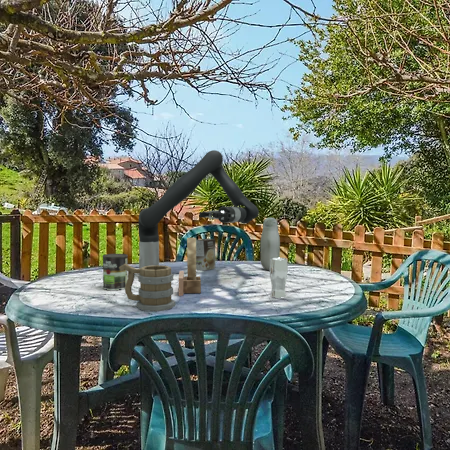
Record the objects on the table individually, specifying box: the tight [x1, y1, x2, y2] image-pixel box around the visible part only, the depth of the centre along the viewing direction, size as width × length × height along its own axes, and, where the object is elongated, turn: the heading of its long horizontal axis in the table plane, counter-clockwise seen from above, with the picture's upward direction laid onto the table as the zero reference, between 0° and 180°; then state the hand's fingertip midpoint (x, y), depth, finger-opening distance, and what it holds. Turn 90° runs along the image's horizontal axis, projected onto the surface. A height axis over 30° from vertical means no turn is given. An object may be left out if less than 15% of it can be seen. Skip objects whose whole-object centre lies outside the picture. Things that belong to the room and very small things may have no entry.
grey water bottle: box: [260, 217, 281, 271], centre depth 223 cm, size 10×10×28 cm
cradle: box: [183, 275, 202, 294], centre depth 174 cm, size 7×9×5 cm
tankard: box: [119, 263, 176, 312], centre depth 150 cm, size 20×13×15 cm, turn 77°
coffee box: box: [196, 238, 216, 272], centre depth 226 cm, size 9×6×16 cm
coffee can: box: [102, 253, 128, 291], centre depth 179 cm, size 10×10×14 cm
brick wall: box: [178, 270, 185, 297], centre depth 174 cm, size 2×16×7 cm, turn 5°
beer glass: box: [269, 257, 289, 299], centre depth 165 cm, size 7×7×15 cm
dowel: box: [186, 237, 197, 280], centre depth 173 cm, size 4×4×22 cm
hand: (207, 215), depth 181 cm, fingers open, 8 cm apart
